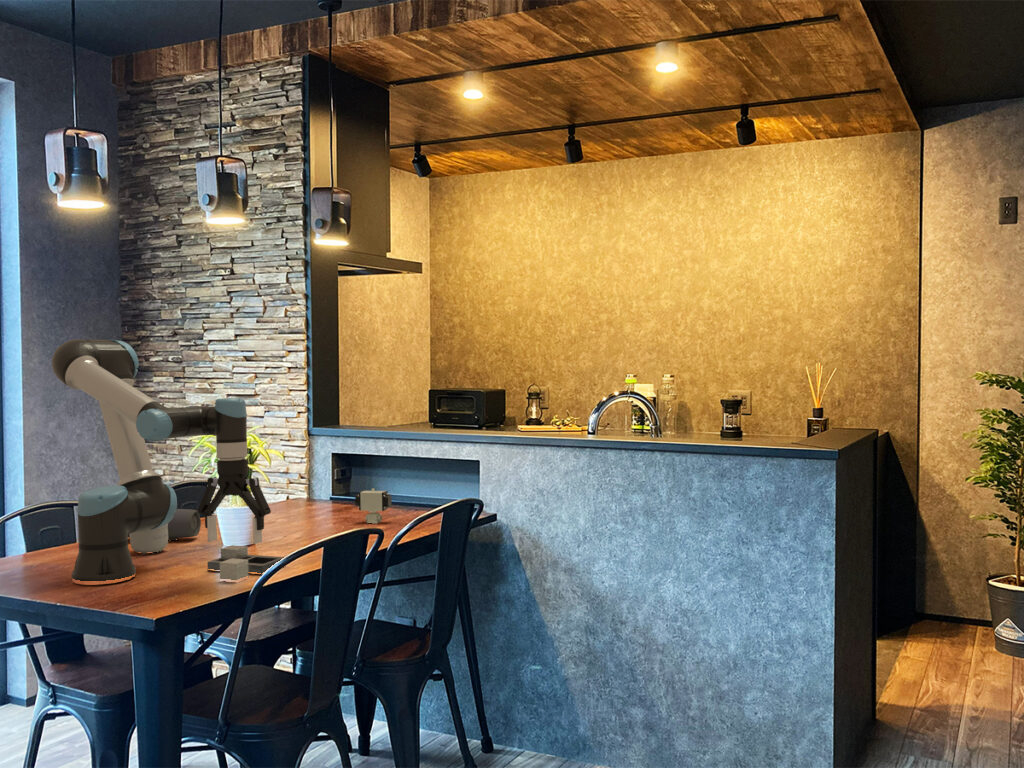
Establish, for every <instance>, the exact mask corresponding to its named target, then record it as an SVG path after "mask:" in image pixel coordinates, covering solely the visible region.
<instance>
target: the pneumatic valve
mask: <svg viewBox="0 0 1024 768" xmlns="http://www.w3.org/2000/svg"><path fill="white" fill-rule="evenodd" d="M392 500H393V499H392V495H391V494H389V490H376V489H375V488H371V490H362V491H359V492H358V493H356V495H355V497H354V502H355V503H354V504H355V506H356V507H357V508H358V511H362V512H363V511H367V512H368V513H367V514H366V515H365V517H364V520H365V522H366V524H368V523H372V524H371V525H377V524H379V523H380V522H382V520H383V518H382V517H383V515H382V514H381V513H380V512H385V511H386V510H388V509H389V508H391V506H392Z"/></svg>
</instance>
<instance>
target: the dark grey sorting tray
mask: <svg viewBox="0 0 1024 768" xmlns="http://www.w3.org/2000/svg"><path fill="white" fill-rule="evenodd" d="M248 549H249V548H248V546H247V545H232V544H231V545H229V546H225V547H223V548H220V557H218V558H216V559H213V560H210V561H207V570H208V569H214V570H220V562H223V561H226V560H229V559H231V558H233V559H247V560H248V572H257V573H261V574H262V573H263V572H265V571H266V570H267V569H268V568H270V567H271V566H272V565H274V564H275V563H276V562H278V561H280V560H281V559H282V558H284V557H285V556H275V555H273V556H272V555H271V556H270V555H259V554H257V555H256V554H249V552H248Z"/></svg>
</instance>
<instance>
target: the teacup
mask: <svg viewBox="0 0 1024 768" xmlns="http://www.w3.org/2000/svg"><path fill="white" fill-rule="evenodd" d="M129 536H130V537H129V542H130V543H129V544H130V548H131V550H133V552H136V553H137V552H141V553H147V552H157V553H160V552H162V551H163V550H164V549H165V548H166V547H167V546H168V544H169V541H168V524H166V525H164V526H161V527H158V528H155V529H152V530H150V529H148V530H143V531H139V532H134V533H129ZM159 551H160V552H159Z"/></svg>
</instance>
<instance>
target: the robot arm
mask: <svg viewBox="0 0 1024 768" xmlns="http://www.w3.org/2000/svg"><path fill="white" fill-rule="evenodd" d="M139 363H140V362H139V358H138V355H137V352H136V351H135V350H134V348H133V347H132V346H131V344H129V343H127V342H125V341H122V340H116V339H111V338H108V339H81V338H78V339H76V338H75V339H71V340H68V341H65V342H63V343H62V344H60V345H59V346H58V347H57V348H56V349H55V351H54V353H53V354H52V358H51V367H52V372H53V374H54V375H55V376H56V378H57V379H58V380H59V381H60V382H61V383H63V384H64V385H65V386H67V387H68V388H70V389H73V390H76V391H77V390H80V391H81V390H82V391H83V392H84V393H86V394H87V395H88V396H90V397H92V398H94V399H95V400H97V401H98V403H99V406H100V410H101V413H102V414H101V415H102V418H103V420H104V421H103V422H104V425H105V429H106V433H107V437H108V439H109V443H110V448H111V451H112V454H113V458H114V462H115V466H116V469H117V473H118V476H119V481H118V483H117V485H107V486H99V487H95V488H91V489H88V490H86V491H84V492H82V493H80V495H79V497H78V499H77V509H76V513H77V523H78V524H77V525H78V529H77V530H78V532H77V533H78V554H77V556H76V560H75V562H74V563H75V564H74V568H73V570H72V572H71V579H72V578H73V579H75V580H80V581H106V580H115V579H121V578H125V577H129V576H132V575H134V574H135V573H136V572H137V569H136V565H135V564H134V562H133V558H132V555H131V552H130V549H129V537H128V534H129V533H134V532H139V531H143V530H148V529H150V530H152V529H155V528H158V527H161V526H164V525H166V524H168V523H169V522H170V521H171V520H172V518H173V517H174V513H175V512H176V509H178V500H177V499H178V498H177V494H176V492H175V489H174V488H173V487H172V486H171V485H170V484H167V483H164V482H163V479H162V475H161V474H159V473H158V472H156V471H154V469H153V465H152V462H151V458H150V455H149V451H148V447H147V444H146V440H147V441H163V440H167V439H168V440H169V439H177V438H185V437H187V438H188V437H198V436H215V438H216V439H215V441H216V443H215V444H216V458H217V459H218V460H217V461H216V471H217V472H216V473H217V475H218V477H217V476H212V477H208V478H207V479H206V480H207V481H206V488H205V490H204V493H203V495H202V499H201V501H200V504H199V505H198V509H197V510H198V513H199V514H202V515H203V516H204V527H205V528H206V529H207V542H209V543H211V542H215V541H217V540H218V535H217V529H218V527H217V515H216V513H215V512H216V510H218V507H219V506H220V505H221V503H222V501H224V499H225V497H229V496H233V497H237V496H238V497H239V498H241V499H242V500H243V501H244V503H245V504H246V505H247V507H248V509H249V510H250V511H251V512H252V514H253V515H254V517H252V537H253V538H252V542H253V545H256V544H259V543H263V533H262V532H263V530H264V529H265V516H267V515H269V514H271V512H272V510H271V508H270V506H269V504H268V502H267V499H266V497H265V495H264V493H263V490H262V488H261V486H260V480H259V477H252V478H249V477H248V472H249V463H248V462H249V461H248V459H247V458H246V457H248V438H247V435H248V433H247V426H248V425H247V424H248V423H247V421H248V413H247V407H246V400H245V399H244V398H242V397H234V398H233V397H232V398H231V397H229V398H228V397H227V398H217V399H215V401H214V406H212V405H211V406H207V405H206V406H205V405H203V406H202V405H201V406H200V405H190V406H185V407H184V406H183V407H172V408H171V407H166V406H165V405H163V404H161V403H160V402H158V401H157V400H154V399H153V398H152V397H151V396H149V395H147V394H145V393H144V392H142V391H140V390H139V389H137V388H136V387H135V386H134V385H135V378H136V376H137V374H138V372H139V371H138V368H139V367H140V365H139ZM217 486H219V489H218V490H217V492H216V489H217ZM215 492H216V493H215ZM214 495H215V496H214ZM136 574H137V573H136Z"/></svg>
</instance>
